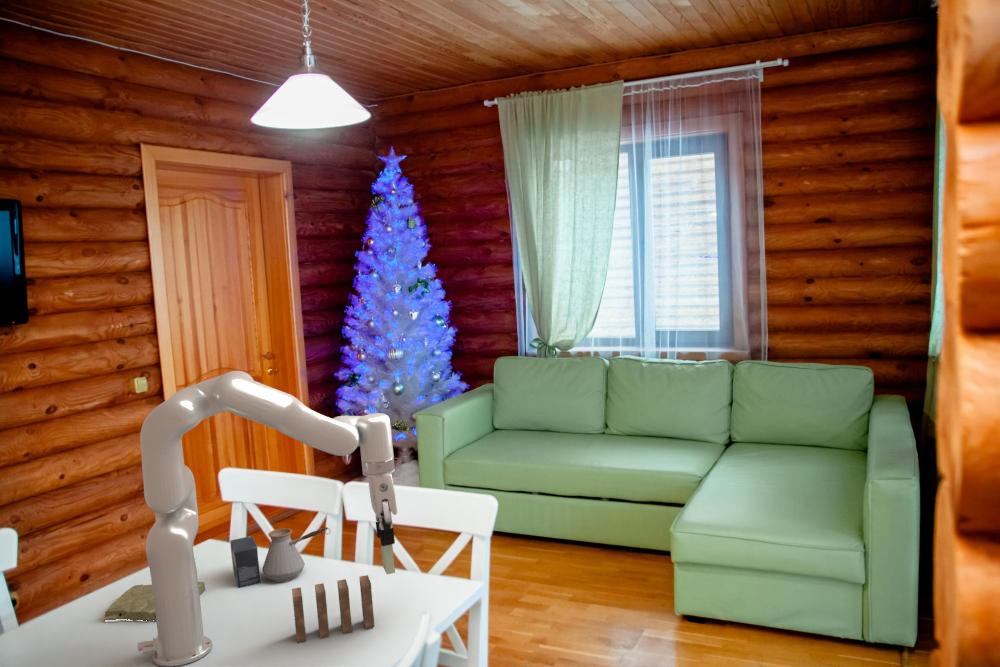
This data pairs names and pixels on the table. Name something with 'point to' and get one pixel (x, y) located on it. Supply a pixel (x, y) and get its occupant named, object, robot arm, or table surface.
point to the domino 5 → (388, 558)
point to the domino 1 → (299, 615)
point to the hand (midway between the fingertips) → (385, 539)
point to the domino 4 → (366, 601)
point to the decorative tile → (137, 604)
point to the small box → (245, 561)
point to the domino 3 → (344, 606)
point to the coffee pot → (284, 555)
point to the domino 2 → (322, 610)
